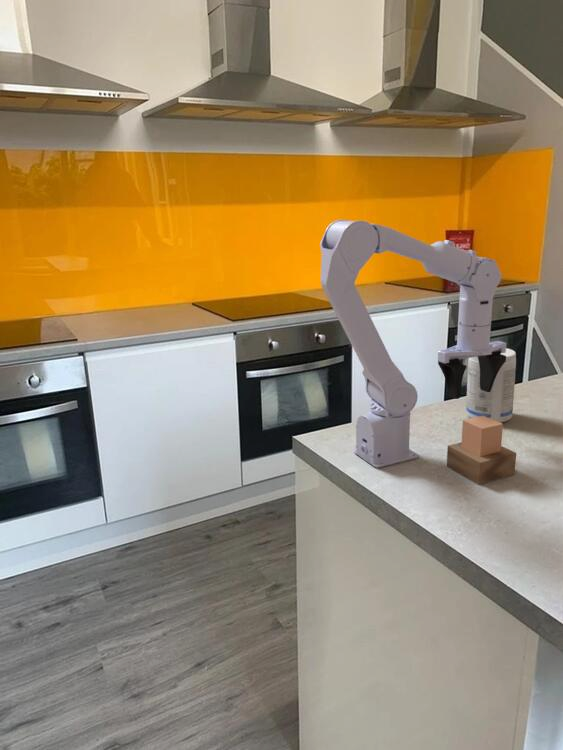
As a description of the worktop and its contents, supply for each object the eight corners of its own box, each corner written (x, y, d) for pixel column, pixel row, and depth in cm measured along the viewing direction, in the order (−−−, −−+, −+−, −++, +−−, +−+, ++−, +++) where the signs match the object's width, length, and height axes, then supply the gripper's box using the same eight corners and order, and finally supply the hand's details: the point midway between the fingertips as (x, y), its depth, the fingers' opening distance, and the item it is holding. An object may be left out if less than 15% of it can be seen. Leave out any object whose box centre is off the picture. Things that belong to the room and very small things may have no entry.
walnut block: (478, 484, 97) (480, 462, 96) (446, 466, 104) (447, 445, 103) (514, 474, 100) (516, 452, 99) (481, 457, 107) (482, 437, 106)
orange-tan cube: (480, 456, 98) (482, 428, 97) (461, 446, 102) (462, 420, 101) (500, 451, 100) (502, 423, 99) (481, 441, 104) (483, 415, 103)
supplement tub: (501, 408, 132) (506, 345, 127) (519, 423, 122) (525, 355, 118) (458, 410, 131) (462, 347, 127) (474, 426, 122) (478, 358, 118)
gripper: (458, 332, 100) (454, 406, 104) (520, 322, 106) (514, 393, 110) (431, 325, 106) (428, 395, 110) (492, 316, 112) (487, 383, 116)
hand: (469, 394), depth 110 cm, fingers open, 7 cm apart
